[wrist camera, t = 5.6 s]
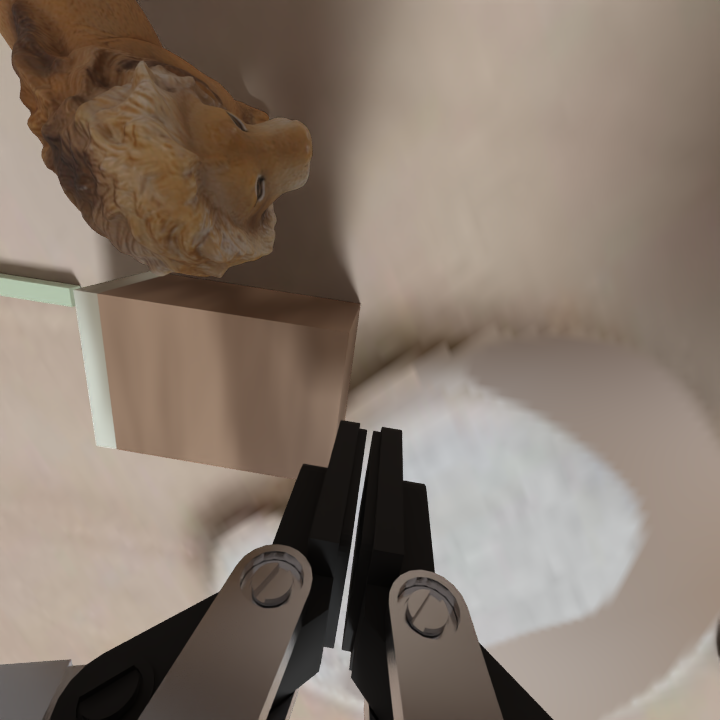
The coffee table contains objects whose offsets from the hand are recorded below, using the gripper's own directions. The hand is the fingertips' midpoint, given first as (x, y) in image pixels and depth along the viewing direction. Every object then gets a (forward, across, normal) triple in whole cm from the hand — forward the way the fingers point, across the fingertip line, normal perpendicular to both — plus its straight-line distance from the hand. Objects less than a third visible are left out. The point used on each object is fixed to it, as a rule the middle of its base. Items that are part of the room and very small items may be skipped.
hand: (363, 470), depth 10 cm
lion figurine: (+7, +8, -10) cm, 15 cm away
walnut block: (+5, +1, 0) cm, 5 cm away
